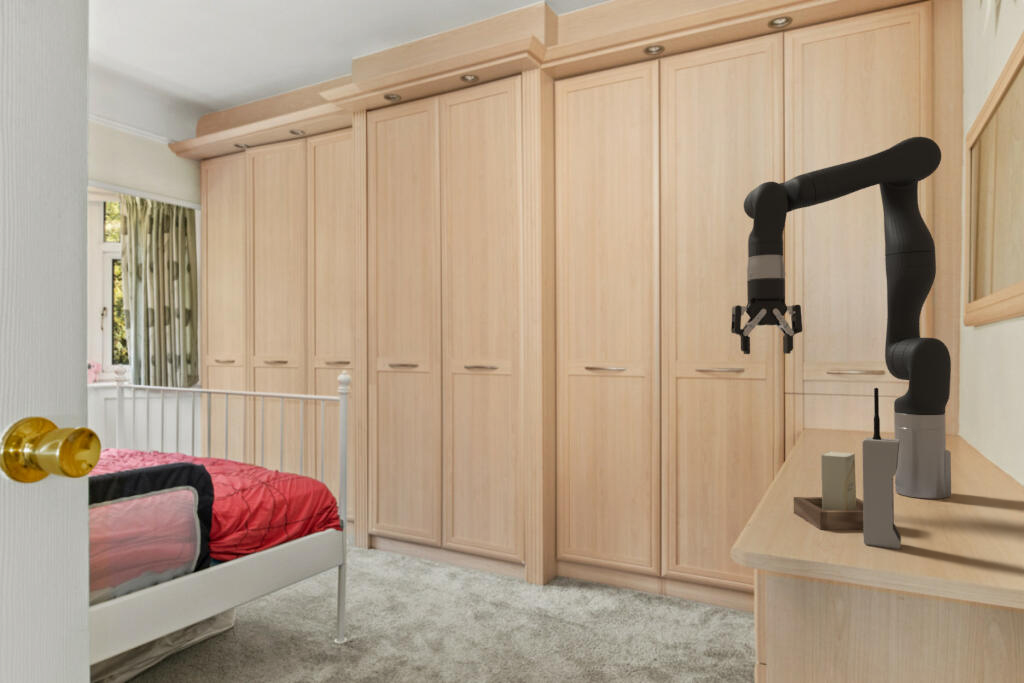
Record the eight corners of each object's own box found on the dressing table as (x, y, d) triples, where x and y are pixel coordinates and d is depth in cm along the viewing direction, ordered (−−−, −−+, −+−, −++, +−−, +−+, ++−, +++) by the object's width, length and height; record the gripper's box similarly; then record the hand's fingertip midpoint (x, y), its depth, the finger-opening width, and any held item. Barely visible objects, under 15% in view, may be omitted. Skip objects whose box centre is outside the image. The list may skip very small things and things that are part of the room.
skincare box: (848, 526, 114) (847, 457, 114) (821, 522, 117) (820, 454, 117) (857, 519, 119) (856, 452, 119) (831, 515, 122) (830, 450, 122)
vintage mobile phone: (900, 550, 101) (897, 388, 101) (863, 544, 104) (861, 387, 104) (901, 543, 104) (899, 387, 104) (865, 539, 107) (863, 386, 107)
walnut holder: (854, 512, 124) (854, 496, 124) (887, 529, 112) (887, 512, 112) (793, 512, 124) (793, 497, 124) (820, 529, 113) (820, 512, 113)
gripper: (792, 279, 143) (793, 353, 143) (727, 280, 143) (727, 354, 143) (807, 275, 136) (807, 353, 135) (738, 276, 136) (738, 354, 136)
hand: (766, 353), depth 139 cm, fingers open, 8 cm apart
